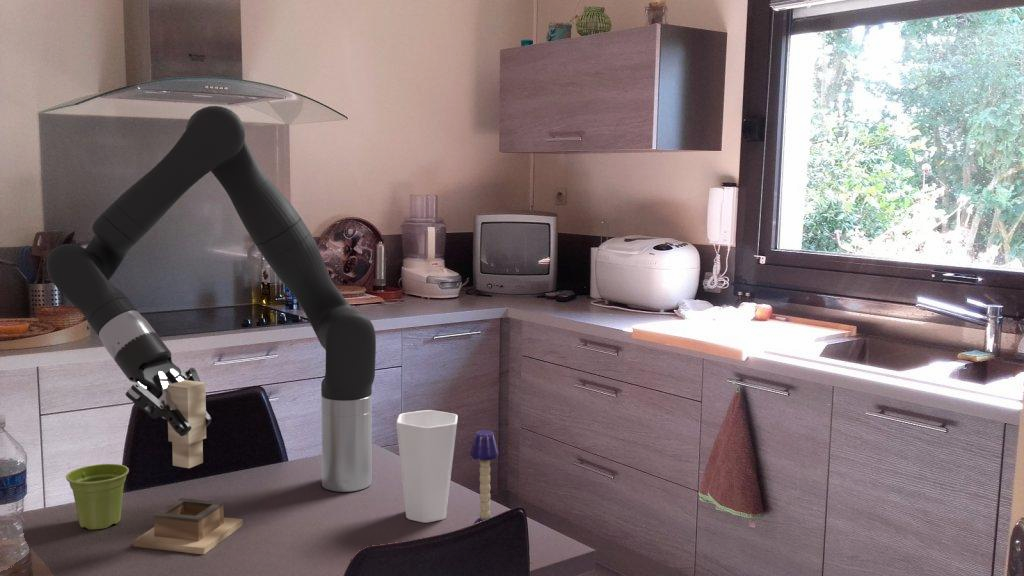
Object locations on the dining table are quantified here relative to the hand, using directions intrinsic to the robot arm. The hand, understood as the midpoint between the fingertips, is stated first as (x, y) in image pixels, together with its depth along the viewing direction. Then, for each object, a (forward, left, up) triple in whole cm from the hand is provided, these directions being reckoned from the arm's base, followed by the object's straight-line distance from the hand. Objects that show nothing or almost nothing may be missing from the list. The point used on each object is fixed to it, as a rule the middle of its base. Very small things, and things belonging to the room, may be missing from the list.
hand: (196, 428), depth 141 cm
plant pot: (-1, -19, -18) cm, 26 cm away
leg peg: (0, -2, -6) cm, 6 cm away
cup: (-18, +32, -18) cm, 41 cm away
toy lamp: (-14, +43, -18) cm, 49 cm away
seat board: (0, -2, -18) cm, 18 cm away
